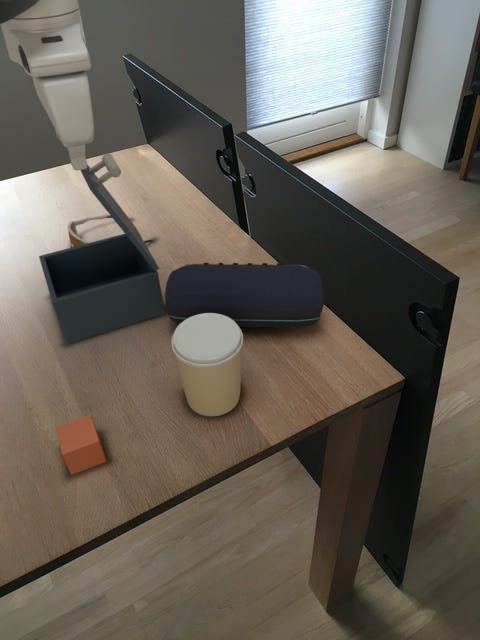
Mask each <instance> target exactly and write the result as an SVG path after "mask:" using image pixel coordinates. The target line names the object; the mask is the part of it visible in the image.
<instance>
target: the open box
mask: <svg viewBox="0 0 480 640" xmlns="http://www.w3.org/2000/svg"><path fill="white" fill-rule="evenodd" d="M38 258H39V261H40V265H41V268H42V272H43V276H44V279H45V283H46V286H47V289H48V293H49V296H50V299H51V303H52V306H53V309H54V311H55V314H56V317H57V320H58V324H59V325H60V329H61V331H62V334H63V337H64V340H65V343H66V344H67V345H69V344H72V343H76V342H79V341H82V340H85V339H89V338H91V337H94V336H98V335H101V334H105V333H109V332H110V331H111V332H112V331H114V330H117V329H121V328H124V327H127V326H130V325H134V324H137V323H140V322H143V321H146V320H147V321H148V320H150V319H153V318H156V317H160V316H163V315H165V314H166V312H165V311H166V310H165V306H164V299H163V294H162V288H161V283H160V276H159V272H158V270H157V271H155V270H154V269H153V268H152V267H151V265H150V264H149V263H148V262H147V260H146V259H145V258H144V257H143V255H142V254H141V253H140V252H139V250H138V249H137V248H136V247H135V245H134V244H133V243H132V242H131V240H130V239H129V238H128V237H127V235H126V234H125V233H121V234H118V235H113V236H110V237H108V238H107V237H106V238H103V239H99V240H95V241H92V242H88V243H87V244H83V245H79V246H76V247H72V246H71V247H69V248H68V247H67V248H65V249H64V248H63V249H61V250H57V251H52V252H49V253H45V254H41V255H39V256H38Z"/></svg>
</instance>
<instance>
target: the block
mask: <svg viewBox="0 0 480 640" xmlns="http://www.w3.org/2000/svg"><path fill="white" fill-rule="evenodd" d="M55 431H56V435H57V441H58V443H59V449H60V453H61V456H62V458H63V460H64V463H65V465H66V467H67V469H68V471H69V474H70V475H74V474H77V473H80V472H83V471H85V470H88V469H90V468H93V467H96V466H98V465H101V464H104V463H106V462H107V459H106V455H105V451H104V449H103V446H102V443H101V439H100V436H99V432H98V430H97V427H96V424H95V421H94V418H93V416H92V414H88V415H85V416H83V417H80V418H76V419H74V420H71V421H68V422H66V423H63V424H59V425H57V426H55Z"/></svg>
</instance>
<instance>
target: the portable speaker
mask: <svg viewBox="0 0 480 640" xmlns="http://www.w3.org/2000/svg"><path fill="white" fill-rule="evenodd" d="M164 292H165V293H164V302H165V308H166V312H167V314H168V318H169V320H171V322H174V323H176V324H178V325H180V324H181V323H182V322H183V321H184V320H186V319H188V318H190V317H192V316H195V315H198V314H203V313H216V314H221V315H224V316H227V317H229V318H231V319H232V320H233V321H234V322H235V323H236V324H237V325H238V326H239V328H240V327H241V328H244V327H245V328H304V327H310V326H313V325H316V324H318V323H319V321H320V318H321V316H322V312H323V309H324V305H325V287H324V286H323V282H322V278H321V276H320V273H319V272H318V271H316V270H315V269H313V268H312V267H309V266H306V265H304V264H283V263H282V262H277V263H276V264H268V262H263V263H261V264H254V263H253V262H247V264H239V262H233V263H232V264H229V263H228V264H226V263H224V262H218V264H217V263H209V262H203V263H189V264H188V263H187V264H184V265H183V266H179V268H178V267H177V268H175V269H174V270H172V271H171V272H170V273H169V275H168V278H167V281H166V283H165V291H164Z"/></svg>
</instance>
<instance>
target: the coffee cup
mask: <svg viewBox="0 0 480 640" xmlns="http://www.w3.org/2000/svg"><path fill="white" fill-rule="evenodd" d="M243 334H244V333H243V332H242V329H241V328H240V327H239V326H238V325H237V324H236V323H235V322H234V321H233V320H232V319H231V318H229V317H227V316H224V315H221V314H216V313H203V314H198V315H195V316H192V317H190V318H188V319H186V320H184V321H183V322H182V323H181V324H178V325H177V327H176V328H175V330H174V332H173V334H172V337H171V343H170V344H171V350H172V352H173V354H174V358H175V361H176V365H177V369H178V373H179V377H180V380H181V385H182V387H183V392H184V395H185V399H186V401H187V404H188V407H190V408H191V410H193V412H195V413H197V414H199V415H201V416H205V417H218V416H222V415H225V414H227V413H229V412H231V411H232V410H233V409H234V408H235V407H236V406H237V405H238V402H239V401H240V397H241V385H242V366H243V365H242V363H243V345H244V335H243Z"/></svg>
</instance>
